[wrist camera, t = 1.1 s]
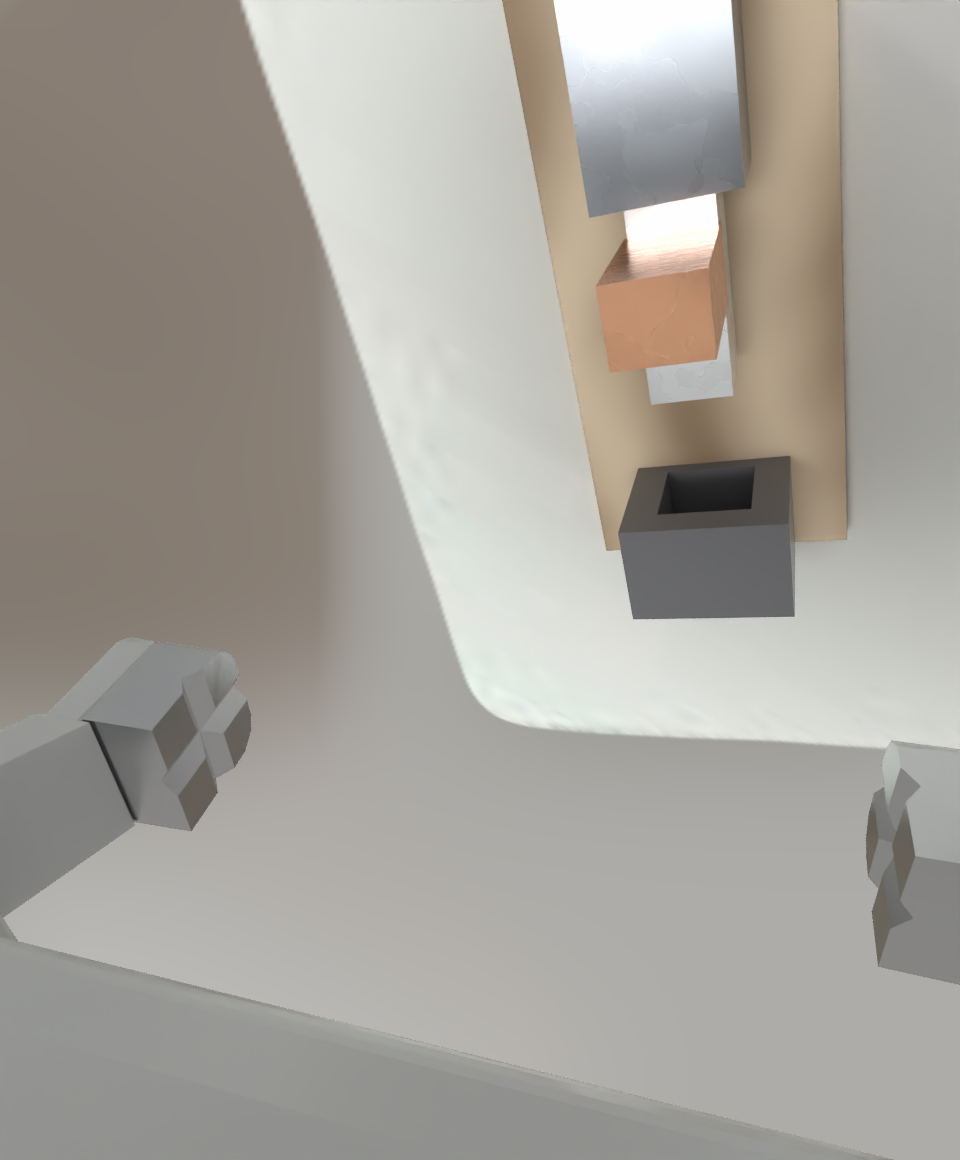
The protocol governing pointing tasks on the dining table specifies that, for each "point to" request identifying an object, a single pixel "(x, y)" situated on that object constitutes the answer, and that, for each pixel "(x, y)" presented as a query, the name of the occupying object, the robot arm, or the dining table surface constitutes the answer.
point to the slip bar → (672, 301)
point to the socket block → (711, 540)
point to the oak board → (757, 269)
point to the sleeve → (656, 99)
